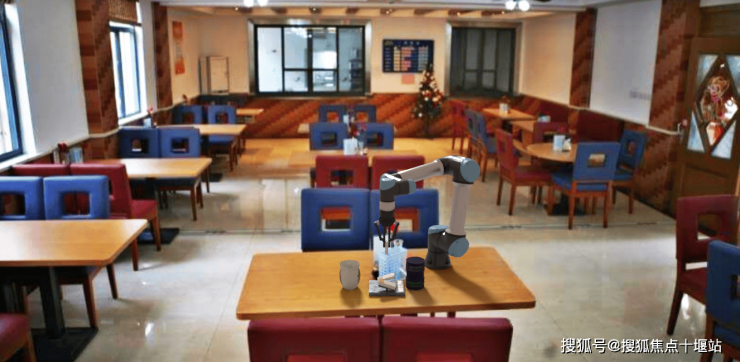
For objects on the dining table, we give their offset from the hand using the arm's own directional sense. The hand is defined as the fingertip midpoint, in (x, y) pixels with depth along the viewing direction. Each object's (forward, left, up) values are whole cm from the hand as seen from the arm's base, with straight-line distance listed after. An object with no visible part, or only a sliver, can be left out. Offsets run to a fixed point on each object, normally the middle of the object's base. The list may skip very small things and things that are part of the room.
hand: (386, 253), depth 291 cm
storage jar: (-15, -4, -20) cm, 26 cm away
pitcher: (+19, -4, -20) cm, 28 cm away
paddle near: (0, +4, -15) cm, 16 cm away
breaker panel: (0, 0, -20) cm, 20 cm away
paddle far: (0, -4, -15) cm, 16 cm away
